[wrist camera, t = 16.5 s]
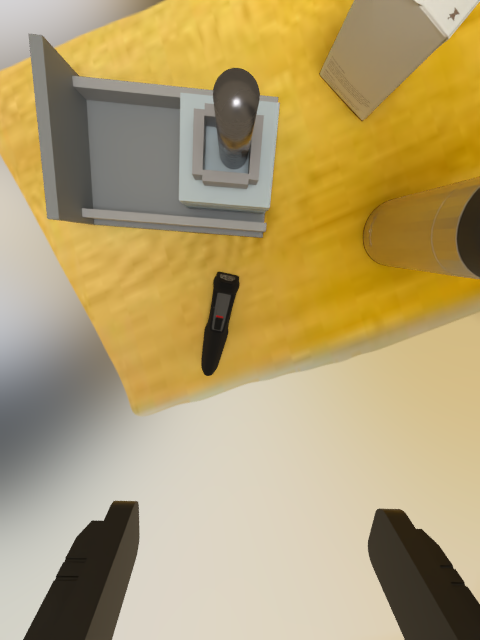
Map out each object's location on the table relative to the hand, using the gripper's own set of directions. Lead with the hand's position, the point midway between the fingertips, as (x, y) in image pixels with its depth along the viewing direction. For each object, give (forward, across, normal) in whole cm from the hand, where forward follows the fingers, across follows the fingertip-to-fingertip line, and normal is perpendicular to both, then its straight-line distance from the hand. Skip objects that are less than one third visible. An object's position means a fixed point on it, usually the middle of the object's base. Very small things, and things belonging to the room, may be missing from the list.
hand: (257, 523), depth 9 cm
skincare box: (+34, -13, -30) cm, 47 cm away
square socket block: (+33, +2, -18) cm, 38 cm away
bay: (+34, +9, -18) cm, 40 cm away
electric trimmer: (+35, +2, +3) cm, 35 cm away
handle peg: (+26, +2, -18) cm, 32 cm away
